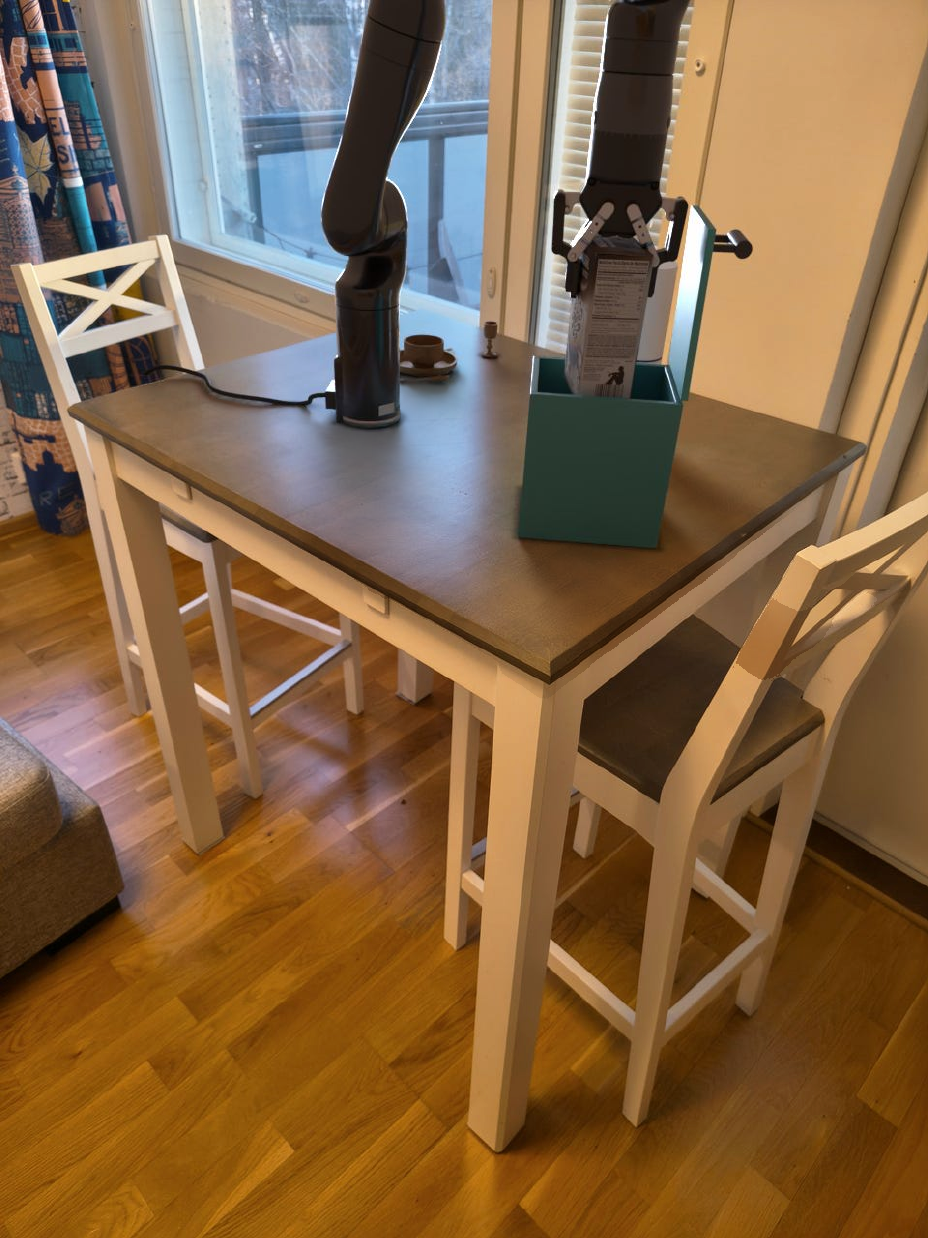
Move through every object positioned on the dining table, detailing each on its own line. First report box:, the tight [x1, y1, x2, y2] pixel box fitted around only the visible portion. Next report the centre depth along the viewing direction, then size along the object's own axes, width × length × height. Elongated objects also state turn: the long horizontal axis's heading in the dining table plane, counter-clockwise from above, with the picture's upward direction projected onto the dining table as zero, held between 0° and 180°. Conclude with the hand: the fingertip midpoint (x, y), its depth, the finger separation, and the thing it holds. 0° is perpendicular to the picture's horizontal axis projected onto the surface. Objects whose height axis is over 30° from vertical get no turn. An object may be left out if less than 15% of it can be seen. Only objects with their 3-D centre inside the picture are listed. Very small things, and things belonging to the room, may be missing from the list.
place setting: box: [400, 320, 498, 382], centre depth 155 cm, size 18×20×6 cm
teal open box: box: [517, 355, 684, 549], centre depth 107 cm, size 17×14×18 cm
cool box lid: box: [667, 204, 754, 402], centre depth 96 cm, size 17×14×5 cm
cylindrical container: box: [636, 261, 679, 364], centre depth 127 cm, size 7×7×25 cm
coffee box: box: [564, 234, 654, 399], centre depth 98 cm, size 9×6×16 cm
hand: (607, 298), depth 97 cm, fingers closed on coffee box, 7 cm apart
